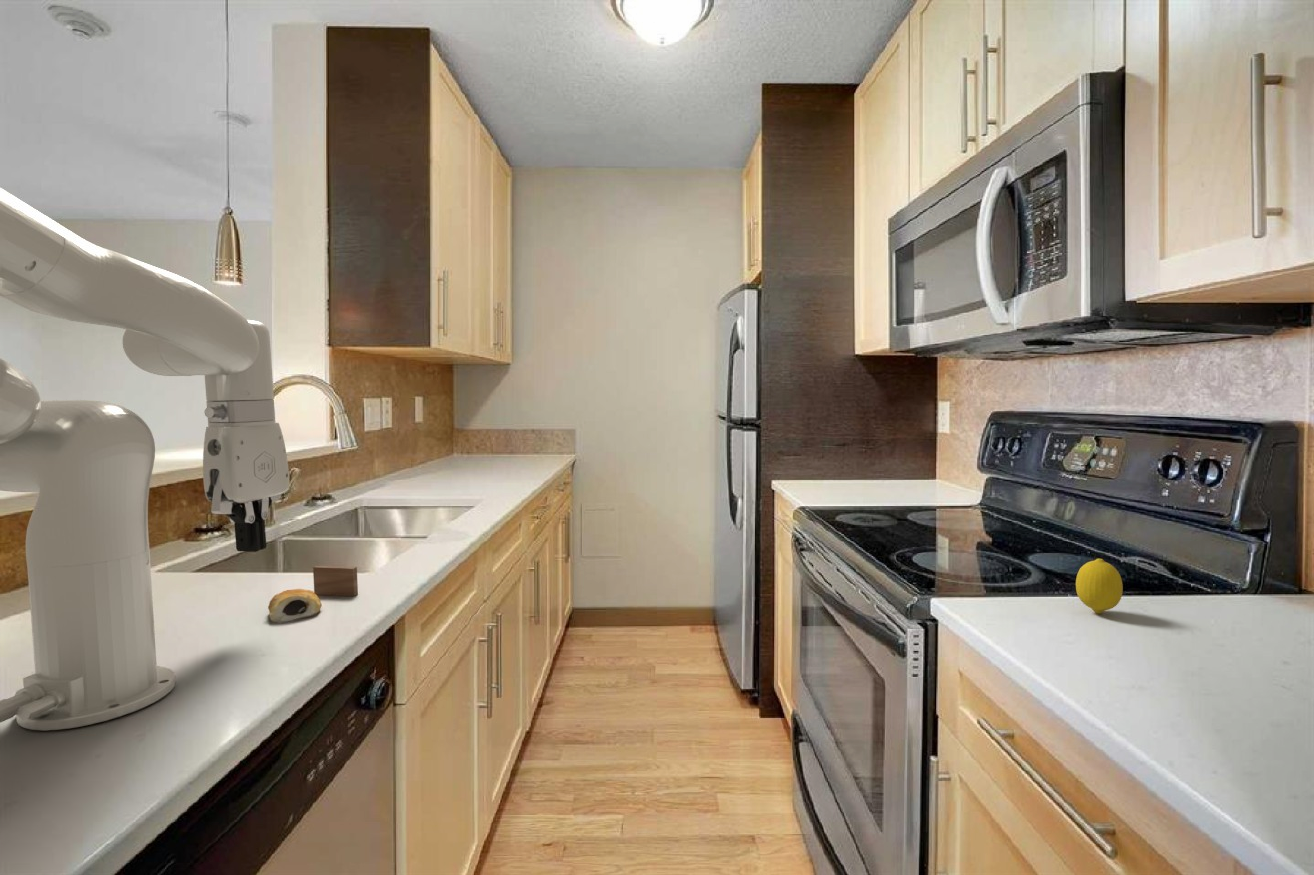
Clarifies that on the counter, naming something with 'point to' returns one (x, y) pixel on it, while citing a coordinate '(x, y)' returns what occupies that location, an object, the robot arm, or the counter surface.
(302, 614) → the pastry
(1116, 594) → the lemon
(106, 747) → the counter surface
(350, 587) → the walnut block
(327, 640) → the counter surface
